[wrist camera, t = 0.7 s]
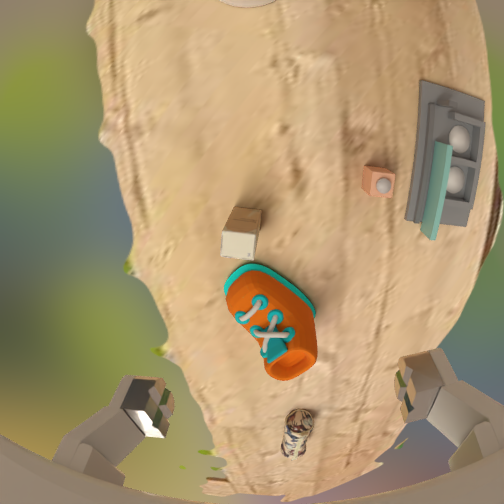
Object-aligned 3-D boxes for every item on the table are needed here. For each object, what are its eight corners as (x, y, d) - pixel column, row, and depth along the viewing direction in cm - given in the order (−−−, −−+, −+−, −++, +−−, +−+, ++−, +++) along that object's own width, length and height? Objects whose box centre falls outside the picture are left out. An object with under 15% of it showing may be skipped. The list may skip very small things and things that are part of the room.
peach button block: (363, 165, 47) (374, 172, 42) (385, 167, 47) (397, 175, 41) (361, 187, 49) (371, 197, 43) (382, 189, 48) (393, 199, 43)
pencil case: (285, 407, 78) (284, 435, 70) (313, 407, 78) (315, 435, 69) (280, 439, 88) (280, 462, 80) (304, 439, 88) (305, 462, 79)
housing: (419, 80, 38) (434, 78, 33) (481, 100, 37) (499, 102, 32) (404, 218, 50) (416, 230, 45) (463, 224, 49) (478, 236, 44)
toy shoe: (253, 249, 56) (246, 296, 42) (324, 307, 61) (333, 359, 47) (214, 288, 60) (198, 338, 47) (283, 338, 65) (283, 390, 52)
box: (262, 209, 52) (258, 235, 42) (259, 232, 54) (255, 261, 44) (232, 206, 52) (221, 230, 42) (230, 228, 54) (220, 257, 44)
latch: (435, 141, 42) (447, 144, 38) (440, 142, 42) (452, 146, 38) (420, 230, 49) (429, 239, 46) (425, 230, 49) (435, 240, 45)
